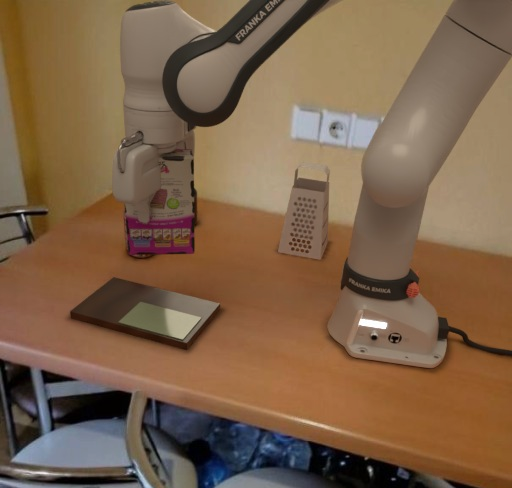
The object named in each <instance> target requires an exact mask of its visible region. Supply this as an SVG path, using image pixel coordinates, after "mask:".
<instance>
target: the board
mask: <svg viewBox="0 0 512 488" xmlns="http://www.w3.org/2000/svg"><path fill="white" fill-rule="evenodd" d="M220 311H221V303H219V302H215V301H211V300H208V299H203V298H199V297H195V296H191V295H188V294H183V293H178V292H176V291H171V290H167V289H164V288H159V287H156V286H152V285H148V284H143V283H139V282H136V281H131V280H127V279H123V278H119V277H115V276H112V277H111V278H110V279H109V280H108V281H106V282H105V283H104V284H103V285H102V286H100V287H99V288H98V289H96V290H94V292H93V293H91V294H90V295H89V296H88V297H86V298H85V299H84V300H82V301H81V302H80V303H78V304H77V305H76V306H75V307H74V308H72V309H70V311H69V314H70V319H73V320H77V321H80V322H84V323H88V324H90V325H91V324H92V325H94V326H98V327H101V328H105V329H109V330H112V331H116V332H120V333H123V334H127V335H130V336H135V337H138V338H142V339H146V340H149V341H151V342H152V341H153V342H155V343H159V344H163V345H167V346H171V347H174V348H178V349H181V350H185V351H187V350H189V348H190V347H191V345H193V344H194V342H196V340H197V338H198V337H199V336H200V335H201V334H202V332H203V331H205V329H206V328H207V327H208V326H209V324H210V323H211V321H213V320H214V318H215V317H216V316H217V314H218V313H219V312H220Z"/></svg>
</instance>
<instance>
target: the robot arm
mask: <svg viewBox="0 0 512 488" xmlns="http://www.w3.org/2000/svg"><path fill="white" fill-rule="evenodd" d="M342 1H343V0H248V2H246V3H245V4H244V5H243V6H242V7H241V8H240V9H239V10H238V11H237V12H236V13H235V14H234V15H233V16H232V17H231V18H230V19H229V20H228V21H227V22H226V23H225V24H224V25H222V27H221V28H219V29H214V28H212V27H210V26H207V25H206V24H204V23H203V22H200V21H199V20H197V19H196V18H194V17H192V16H191V15H190V14H188V13H187V12H186V11H185V10H183V9H182V7H181V6H180V5H179V4H178V3H177V2H175V1H172V0H155V1H147V2H142V3H137V4H134V5H131V6H130V7H128V8H127V9H126V10H125V12H124V13H123V14H122V17H121V22H120V31H119V32H120V35H119V36H120V37H119V55H120V56H119V57H120V58H119V59H120V72H121V75H122V79H123V82H124V93H123V98H122V105H123V107H122V108H123V122H124V136H125V137H123V138H122V139H121V140H120V144H119V146H118V148H117V149H116V150H115V152H114V155H113V158H112V174H111V175H112V195H113V198H114V199H115V201H116V202H118V203H122V204H124V203H125V204H131V205H134V206H135V208H136V210H137V211H138V220H139V221H140V222H144V223H147V222H149V221H150V220H151V219H152V210H151V209H149V208H148V205H147V203H148V202H149V196H150V195H152V194H154V193H155V192H157V191H158V190H160V189H161V169H160V165H158V159H159V157H160V156H161V155H163V154H165V153H168V152H172V151H174V150H175V149H192V154H193V158H194V159H195V149H196V147H195V146H196V142H195V141H196V133H195V131H194V130H196V129H197V127H199V128H212V127H215V126H219V125H221V124H222V123H224V122H225V121H226V120H228V119H229V118H230V117H231V116H232V114H233V113H234V112H235V111H236V109H237V107H238V105H239V102H240V100H241V97H242V95H243V93H244V90H245V87H246V85H247V83H248V82H249V80H250V79H251V78H252V76H253V75H254V74H255V73H256V72H257V71H258V69H259V68H260V67H262V65H263V64H265V62H267V61H268V60H269V58H271V57H272V55H274V54H275V53H276V52H277V51H278V50H279V49H280V48H281V47H282V46H283V45H284V44H285V43H286V42H287V41H288V40H289V39H290V38H291V37H293V36H294V35H295V34H296V33H297V32H298V31H299V30H300V29H301V28H302V27H304V25H305V24H307V23H308V22H310V21H311V20H313V18H315V17H316V16H318V15H320V14H321V13H323V12H325V11H327V10H328V9H330V8H331V7H333V6H335V5H337V4H339V3H340V2H342ZM444 13H445V14H444V15H443V17H442V18H441V20H440V22H439V24H438V26H437V27H436V29H435V31H434V32H433V34H432V35H431V37H430V39H429V40H428V42H427V44H426V45H425V48H424V49H423V51H422V52H421V54H420V56H419V58H418V59H417V61H416V63H415V64H414V66H413V68H412V70H411V71H410V72H409V75H408V77H407V78H406V79H405V82H404V84H403V85H402V87H401V89H400V91H399V92H398V94H397V95H396V97H395V99H394V101H393V103H392V104H391V106H390V107H389V110H388V111H387V113H386V114H385V117H384V118H383V119H382V122H381V123H380V124H378V125H379V126H377V128H376V129H375V132H373V135H372V137H371V139H370V141H369V143H368V145H367V147H366V149H365V151H364V153H363V155H362V160H361V164H360V175H361V180H362V184H361V185H362V186H361V189H360V194H359V199H358V203H357V207H356V212H355V216H354V221H353V224H352V225H353V227H352V230H351V237H350V244H349V248H348V253H347V254H348V255H347V257H346V259H345V261H344V264H343V265H342V271H341V277H340V282H339V283H340V292H339V295H338V298H337V300H336V301H337V302H336V305H335V307H334V309H333V312H332V314H331V315H330V318H329V319H328V321H327V325H326V327H327V331H328V333H329V335H330V336H331V338H332V339H334V341H336V342H337V343H338V344H340V345H341V346H343V347H344V350H345V351H346V352H347V354H348V355H349V356H350V357H352V358H357V359H362V360H370V361H376V362H383V363H389V364H398V365H404V366H411V367H417V368H425V369H434V368H436V367H438V366H440V364H441V363H442V362H443V361H444V359H445V358H446V357H445V356H446V352H447V347H448V341H447V339H448V336H449V333H453V334H456V335H459V336H460V337H461V338H462V341H463V342H464V343H465V344H466V345H468V346H469V347H471V348H474V349H476V350H480V351H482V352H483V351H484V352H488V353H491V354H499V355H503V356H512V349H511V350H510V349H504V348H497V347H490V346H485V345H482V344H479V343H477V342H474V341H472V340H471V339H469V336H468V334H467V333H466V332H465V331H464V330H462V329H461V328H457V327H454V326H450V325H449V322H448V319H447V317H442V316H438V315H439V314H438V311H437V309H436V307H435V306H434V305H433V304H432V303H431V302H429V300H428V299H426V298H425V296H423V295H422V293H420V292H419V291H420V285H419V282H420V277H419V275H420V273H419V269H417V270H416V272H414V270H413V269H412V268H411V266H412V261H413V257H414V255H415V249H416V244H417V241H418V237H419V233H420V229H421V225H422V221H423V220H422V219H423V215H424V211H425V206H426V201H427V199H428V198H427V197H428V192H429V189H430V186H431V184H432V183H433V181H434V180H435V178H436V177H437V175H438V173H439V172H440V171H441V168H442V167H443V166H444V164H445V162H446V161H447V159H448V157H449V156H450V154H451V153H452V151H453V149H454V147H455V146H456V144H457V143H458V141H459V139H460V138H461V136H462V134H463V133H464V131H465V129H466V127H467V126H468V125H469V122H470V120H471V119H472V117H473V116H474V114H475V112H476V110H477V109H478V107H479V106H480V104H481V103H482V101H483V100H484V99H485V96H487V94H488V93H489V91H490V89H492V87H493V85H494V84H495V83H496V81H497V80H498V78H499V77H500V75H501V73H503V71H504V69H506V66H508V64H509V62H510V61H511V59H512V0H452V2H451V3H450V5H449V6H448V8H447V10H446V12H444Z"/></svg>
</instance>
